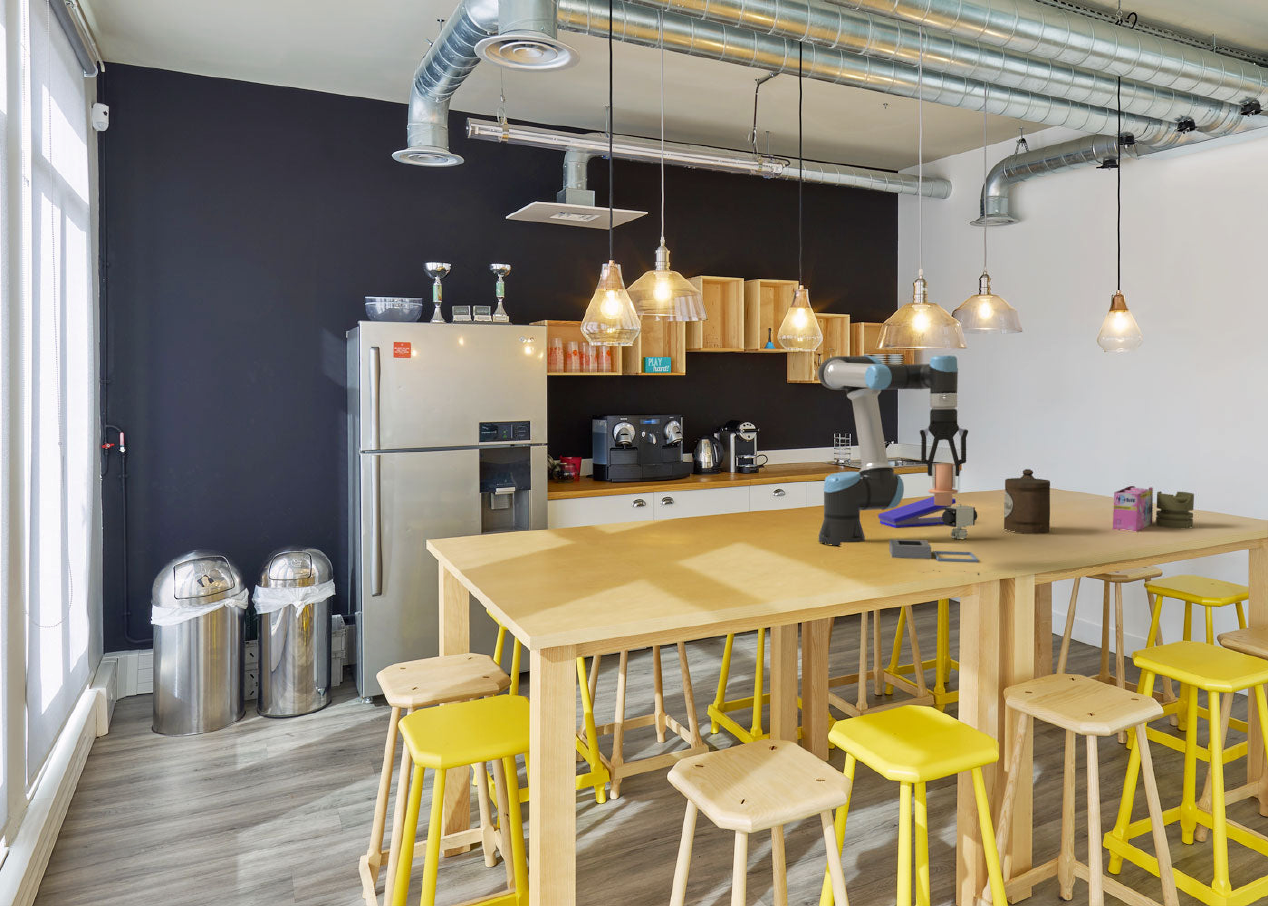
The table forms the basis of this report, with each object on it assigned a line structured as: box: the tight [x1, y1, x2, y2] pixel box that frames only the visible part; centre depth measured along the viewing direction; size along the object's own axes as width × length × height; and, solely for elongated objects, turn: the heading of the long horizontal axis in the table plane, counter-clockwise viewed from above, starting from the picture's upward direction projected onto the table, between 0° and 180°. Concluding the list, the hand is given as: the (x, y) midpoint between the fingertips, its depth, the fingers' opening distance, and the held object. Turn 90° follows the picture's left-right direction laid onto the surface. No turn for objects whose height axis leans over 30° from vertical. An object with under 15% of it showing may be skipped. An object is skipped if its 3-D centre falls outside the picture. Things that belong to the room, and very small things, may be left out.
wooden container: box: [1003, 468, 1051, 534], centre depth 301 cm, size 15×15×22 cm
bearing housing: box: [888, 538, 932, 560], centre depth 256 cm, size 11×11×5 cm
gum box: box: [1112, 485, 1154, 532], centre depth 307 cm, size 24×8×14 cm, turn 136°
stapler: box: [877, 495, 957, 529], centre depth 319 cm, size 12×28×10 cm, turn 107°
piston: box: [1155, 491, 1195, 529], centre depth 307 cm, size 11×12×11 cm
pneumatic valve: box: [941, 503, 978, 540], centre depth 287 cm, size 6×12×12 cm, turn 114°
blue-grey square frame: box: [932, 550, 979, 563], centre depth 250 cm, size 11×11×2 cm
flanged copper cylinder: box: [928, 463, 959, 507], centre depth 249 cm, size 8×8×12 cm
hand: (943, 487), depth 249 cm, fingers closed on flanged copper cylinder, 5 cm apart
